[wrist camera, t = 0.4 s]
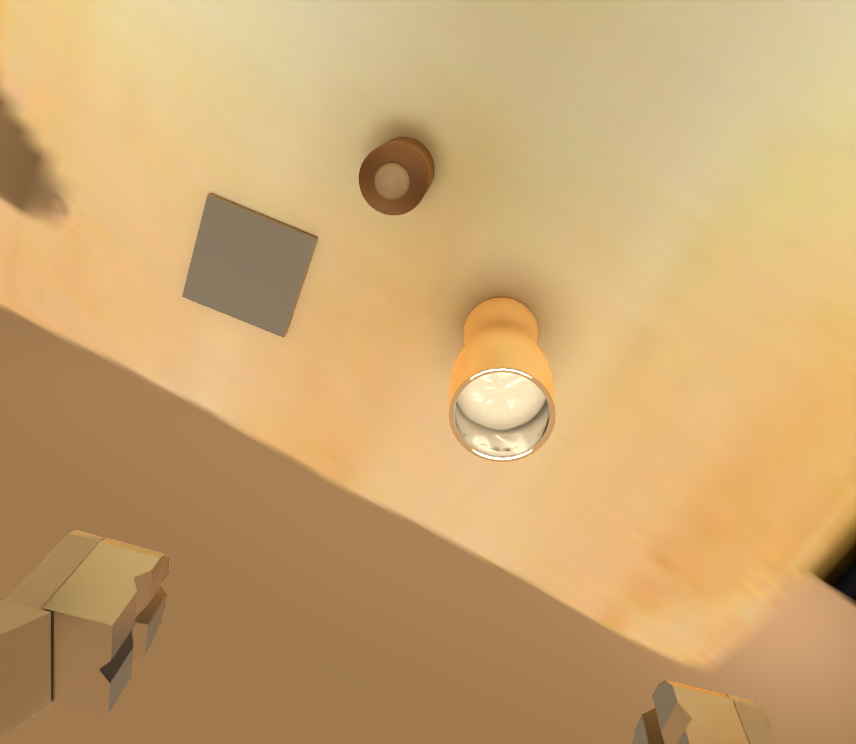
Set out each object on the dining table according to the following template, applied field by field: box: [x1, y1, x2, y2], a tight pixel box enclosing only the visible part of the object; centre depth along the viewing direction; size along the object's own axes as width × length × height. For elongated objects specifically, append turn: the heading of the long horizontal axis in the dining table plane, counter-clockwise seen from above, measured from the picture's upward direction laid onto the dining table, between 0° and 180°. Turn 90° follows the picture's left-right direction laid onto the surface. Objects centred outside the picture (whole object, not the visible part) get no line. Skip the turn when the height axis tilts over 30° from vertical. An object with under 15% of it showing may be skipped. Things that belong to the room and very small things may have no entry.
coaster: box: [182, 193, 318, 337], centre depth 55 cm, size 9×9×1 cm
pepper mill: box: [359, 137, 434, 215], centre depth 47 cm, size 5×5×7 cm
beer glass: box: [449, 298, 555, 462], centre depth 48 cm, size 7×7×15 cm
